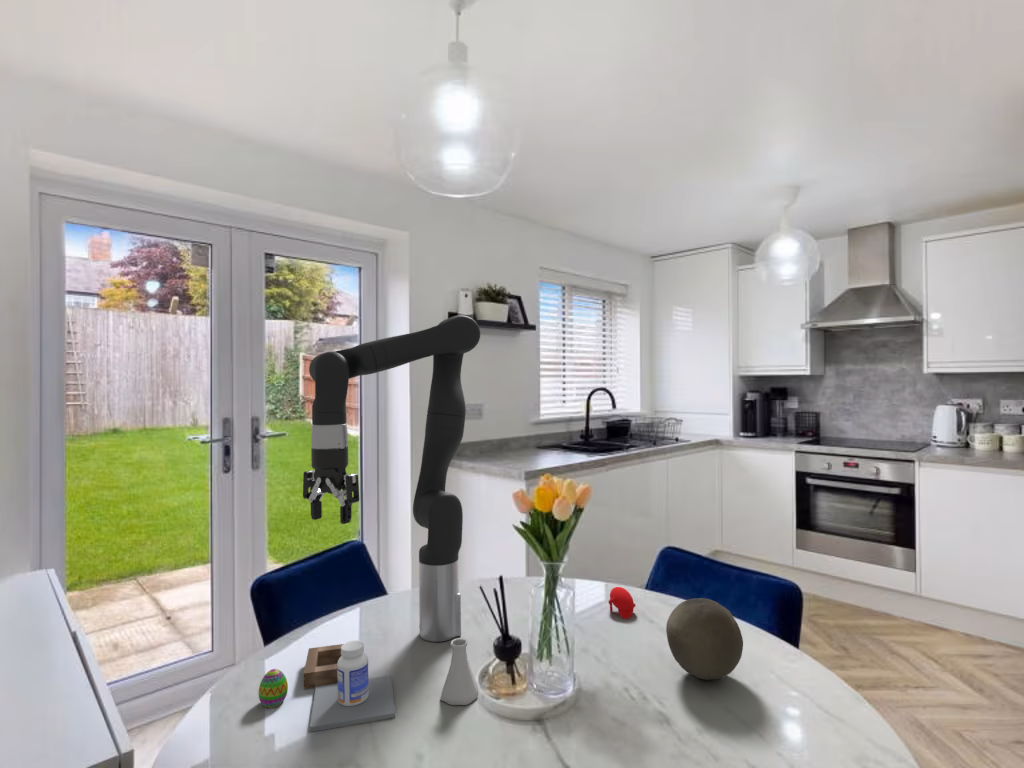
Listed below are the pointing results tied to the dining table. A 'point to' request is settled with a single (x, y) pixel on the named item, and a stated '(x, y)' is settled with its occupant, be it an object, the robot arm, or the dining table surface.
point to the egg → (273, 688)
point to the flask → (459, 677)
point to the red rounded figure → (622, 602)
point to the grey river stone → (704, 638)
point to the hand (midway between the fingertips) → (330, 521)
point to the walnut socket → (322, 673)
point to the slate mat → (337, 715)
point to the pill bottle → (352, 674)
